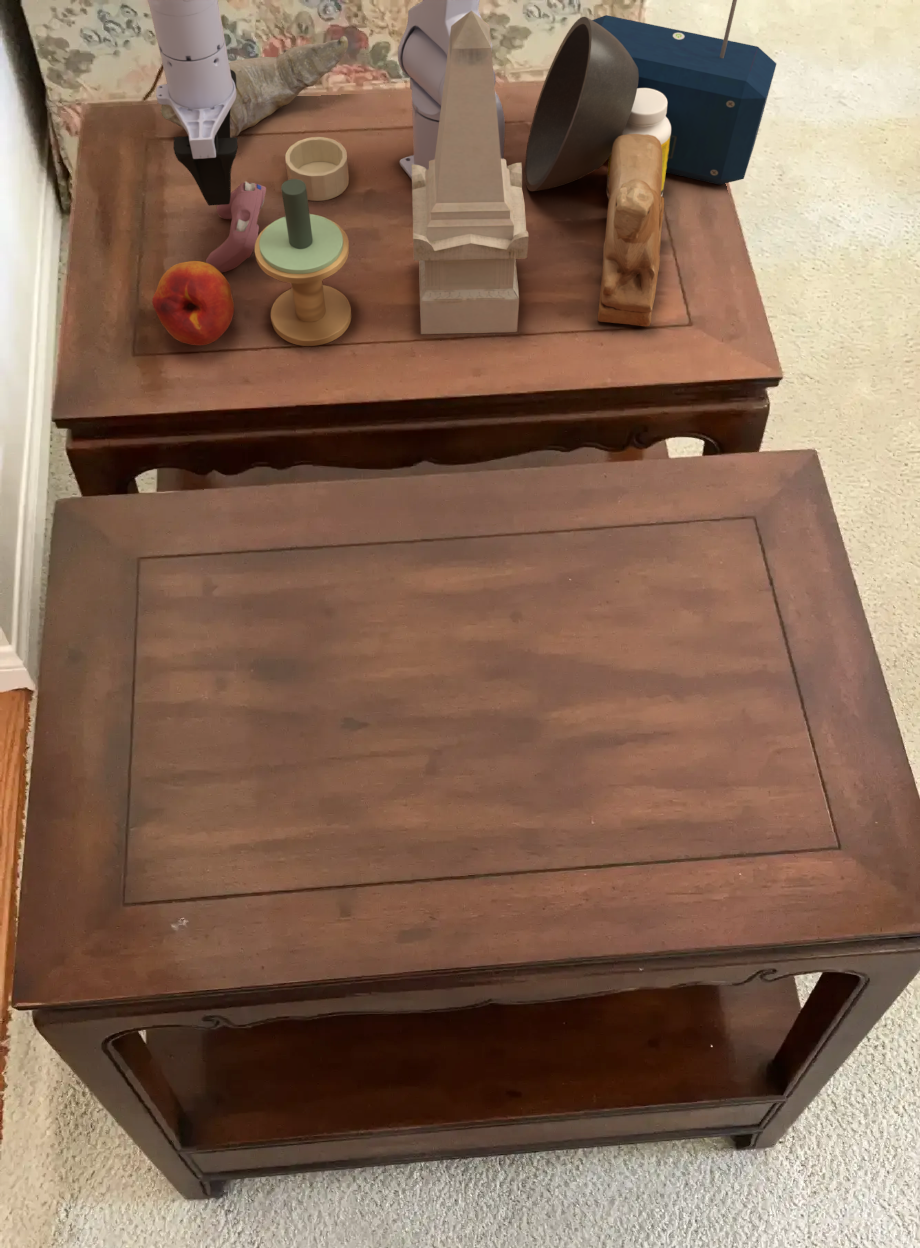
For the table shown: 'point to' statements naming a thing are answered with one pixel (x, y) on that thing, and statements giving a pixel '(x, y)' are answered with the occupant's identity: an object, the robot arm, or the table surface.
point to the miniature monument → (468, 201)
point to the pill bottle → (649, 123)
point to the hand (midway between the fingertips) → (218, 176)
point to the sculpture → (632, 231)
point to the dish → (319, 167)
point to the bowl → (580, 107)
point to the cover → (300, 235)
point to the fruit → (194, 302)
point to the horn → (274, 81)
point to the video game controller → (239, 226)
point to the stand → (309, 303)
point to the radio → (701, 94)
